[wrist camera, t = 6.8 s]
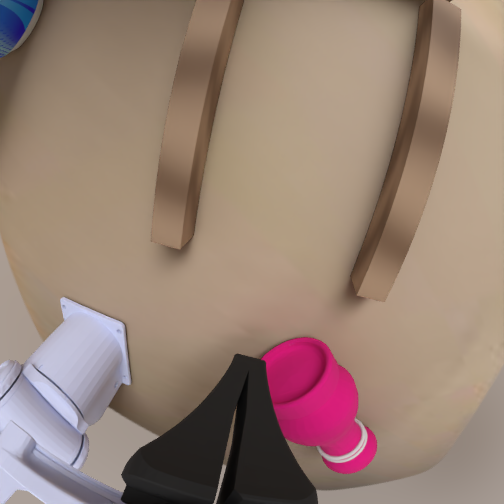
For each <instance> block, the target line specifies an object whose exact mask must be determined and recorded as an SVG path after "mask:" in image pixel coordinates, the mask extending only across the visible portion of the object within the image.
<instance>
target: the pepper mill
mask: <svg viewBox="0 0 504 504" xmlns="http://www.w3.org/2000/svg"><path fill="white" fill-rule="evenodd" d="M261 360H265V362H266V370H267V379H268V385H269V390H270V395H271V399H272V403H273V407H274V410H275V413H276V417H277V420H278V422H279V425H280V428H281V430H282V433H283V435H284V437H285V438H286V439H287V440H289V441H291V442H293V443H297V444H301V445H305V446H317V449H318V451H319V453H320V454H321V455H322V458H323V461H324V463H325V464H326V465H327V467H328V468H330V469H331V470H333V471H335V472H338V473H342V474H350V473H355V472H358V471H360V470H362V469H363V468H365V467H366V466H367V465H368V464H369V463H370V462H371V461H372V460H373V458H374V456H375V454H376V451H377V440H376V437H375V435H374V434H373V432H372V431H371V430H370V429H369V428H368V427H366V426H364V425H363V424H362V423H361V422H360V421H359V420H358V419H356V418H355V416H356V414H357V410H358V392H357V388H356V385H355V382H354V380H353V378H352V376H351V375H350V373H349V372H348V371H347V370H346V369H345V368H344V367H342V366H340V365H338V364H337V362H336V360H335V358H334V356H333V355H332V353H331V351H330V349H329V347H328V346H327V345H326V344H325V343H323V342H322V341H320V340H317V339H314V338H308V337H303V338H295V339H292V340H289V341H286V342H284V343H282V344H280V345H278V346H276V347H274V348H273V349H271V350H270V351H269V352H268V353H266V354H265V355H264V356H263V357H262V358H261Z"/></svg>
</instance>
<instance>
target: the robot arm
mask: <svg viewBox="0 0 504 504" xmlns="http://www.w3.org/2000/svg"><path fill="white" fill-rule="evenodd" d="M60 302H61V307H62V312H63V317H64V322H63V323H62V324H61V325H60V326H59V327H58V328H57V329H56V330H55V331H54V332H53V333H52V334H51V335H50V336H49V337H48V338H47V339H46V340H45V341H44V342H43V343H42V344H41V345H40V346H39V347H38V349H37V350H36V351H35V352H34V353H33V354H32V355H31V356H30V357H29V358H28V359H27V360H26V362H25V363H24V364H22V365H20V364H19V362H18V361H16V360H15V361H12V360H7V361H5V362H3V363H2V364H1V365H0V504H5V503H6V502H7V501H8V499H9V498H10V497H11V496H12V495H13V493H14V492H15V491H16V490H25V491H29V492H31V493H32V494H33V495H34V496H36V497H37V498H38V499H40V500H41V501H42V502H44V503H45V504H213V503H214V500H215V496H216V493H217V489H218V484H219V479H220V474H221V469H222V465H223V460H224V455H225V451H226V446H227V442H228V437H229V433H230V428H231V424H232V419H233V415H234V411H235V409H236V406H237V410H236V417H235V425H234V432H233V439H232V445H231V451H230V455H229V458H228V462H227V466H226V470H225V474H224V478H223V482H222V485H221V488H220V492H219V496H218V499H217V503H216V504H318V498H317V493H316V488H315V487H314V486H313V484H312V483H311V482H310V481H309V479H308V478H307V476H306V475H305V473H304V472H303V470H302V469H301V467H300V466H299V464H298V463H297V461H296V459H295V457H294V455H293V454H292V452H291V450H290V448H289V446H288V444H287V442H286V440H285V437H284V435H283V433H282V430H281V428H280V425H279V422H278V420H277V417H276V413H275V410H274V407H273V403H272V399H271V395H270V390H269V385H268V379H267V370H266V362H265V360H261V359H257V358H253V357H249V356H245V355H241V354H236V355H235V356H234V358H233V361H232V363H231V365H230V366H229V368H228V370H227V371H226V373H225V375H224V376H223V377H222V379H221V380H220V381H219V383H218V384H217V386H216V387H215V388H214V389H213V390H212V392H211V393H210V394H209V395H208V396H207V397H206V398H205V400H204V401H203V402H202V403H201V404H200V405H199V406H198V407H197V408H196V409H195V410H194V411H193V412H191V413H190V414H189V415H188V416H187V417H186V418H185V419H183V420H182V421H181V422H180V423H178V424H177V425H176V426H175V427H173V428H172V429H170V430H169V431H167V432H166V433H165V434H163V435H162V436H160V437H158V438H157V439H155V440H153V441H152V442H150V443H148V444H147V445H145V446H143V447H141V448H140V449H139V450H138V451H137V452H136V453H135V454H134V455H133V456H132V457H131V458H130V459H129V461H128V462H127V464H126V466H125V468H124V470H123V472H122V474H121V475H122V478H123V480H124V481H125V483H126V488H125V490H124V492H120V491H118V490H116V489H114V488H112V487H109V486H107V485H105V484H103V483H101V482H99V481H97V480H96V479H94V478H92V477H90V476H88V475H86V474H84V473H83V472H81V471H79V470H80V469H81V468H82V466H83V465H84V463H85V461H86V459H87V456H88V452H89V440H88V437H87V435H86V434H85V431H86V429H87V428H88V426H90V425H93V424H94V423H96V422H97V421H98V420H99V419H100V418H101V417H102V415H103V413H104V412H105V410H106V408H107V407H108V405H109V404H110V402H111V400H112V399H113V397H114V395H115V394H116V392H117V390H118V389H119V387H120V385H121V384H122V383H124V384H126V385H130V384H131V375H130V368H129V360H128V351H127V342H126V331H125V325H124V324H123V323H122V322H120V321H118V320H115V319H113V318H110V317H108V316H106V315H103V314H101V313H98V312H96V311H94V310H91V309H89V308H87V307H85V306H82V305H80V304H78V303H76V302H74V301H71V300H69V299H67V298H65V297H62V298H61V299H60Z"/></svg>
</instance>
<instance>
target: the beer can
mask: <svg viewBox="0 0 504 504" xmlns="http://www.w3.org/2000/svg"><path fill="white" fill-rule="evenodd" d="M42 7H43V0H0V58H1V57H4V56H6V55H7V54H9V53H10V52H11V51H14V50H16V49H17V48H18V47H20V46H21V45H22V44H23V42H24V41H25V40H26V39H27V38H28V36H29V35H30V33H31V32H32V30H33V28H34V27H35V25H36V23H37V21H38V18H39V16H40V13H41V10H42Z"/></svg>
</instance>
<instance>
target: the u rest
mask: <svg viewBox="0 0 504 504" xmlns="http://www.w3.org/2000/svg"><path fill="white" fill-rule="evenodd" d="M450 1H452V0H426V1H425V2H424V3H423V4H422V5H420V6H419V17H418V27H417V35H416V43H415V50H414V57H413V63H412V69H411V75H410V80H409V86H408V91H407V96H406V100H405V105H404V110H403V114H402V118H401V122H400V127H399V131H398V135H397V139H396V142H395V146H394V150H393V154H392V157H391V161H390V164H389V168H388V171H387V174H386V178H385V181H384V184H383V188H382V191H381V194H380V197H379V200H378V203H377V206H376V209H375V212H374V215H373V218H372V221H371V224H370V226H369V229H368V232H367V235H366V237H365V240H364V243H363V245H362V248H361V251H360V253H359V256H358V258H357V261H356V264H355V266H354V269H353V271H352V273H351V279H352V282H353V285H354V288H355V291H356V295H357V296H361V297H365V298H369V299H374V300H378V301H382V302H385V300H386V298H387V296H388V294H389V292H390V290H391V288H392V286H393V284H394V281H395V279H396V277H397V275H398V273H399V271H400V268H401V266H402V264H403V262H404V259H405V257H406V255H407V252H408V250H409V247H410V245H411V242H412V240H413V237H414V235H415V232H416V230H417V227H418V224H419V222H420V219H421V216H422V214H423V211H424V208H425V205H426V202H427V199H428V196H429V193H430V190H431V187H432V184H433V181H434V177H435V174H436V170H437V167H438V163H439V160H440V156H441V152H442V148H443V144H444V140H445V136H446V132H447V127H448V123H449V118H450V113H451V108H452V102H453V97H454V90H455V84H456V77H457V69H458V59H459V48H460V33H461V9H460V8H458V7H457V6H455V5H453V4H452V3H450ZM243 2H244V0H196V3H195V6H194V9H193V12H192V15H191V18H190V22H189V25H188V28H187V32H186V35H185V39H184V42H183V46H182V50H181V54H180V57H179V61H178V65H177V70H176V74H175V78H174V83H173V87H172V92H171V96H170V101H169V106H168V111H167V117H166V122H165V128H164V134H163V140H162V146H161V152H160V159H159V166H158V174H157V182H156V190H155V200H154V210H153V221H152V233H151V242H154V243H158V244H161V245H165V246H169V247H172V248H176V249H181V248H182V247H183V246H184V245H185V244H186V243H187V242H188V241H189V240H190V238H191V237H192V236H193V235H194V228H195V222H196V215H197V209H198V202H199V196H200V190H201V184H202V178H203V173H204V167H205V162H206V156H207V151H208V146H209V141H210V136H211V131H212V126H213V121H214V116H215V112H216V107H217V102H218V98H219V94H220V89H221V85H222V81H223V76H224V72H225V68H226V64H227V60H228V56H229V52H230V49H231V45H232V41H233V37H234V34H235V30H236V26H237V23H238V19H239V16H240V12H241V9H242V6H243Z"/></svg>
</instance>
